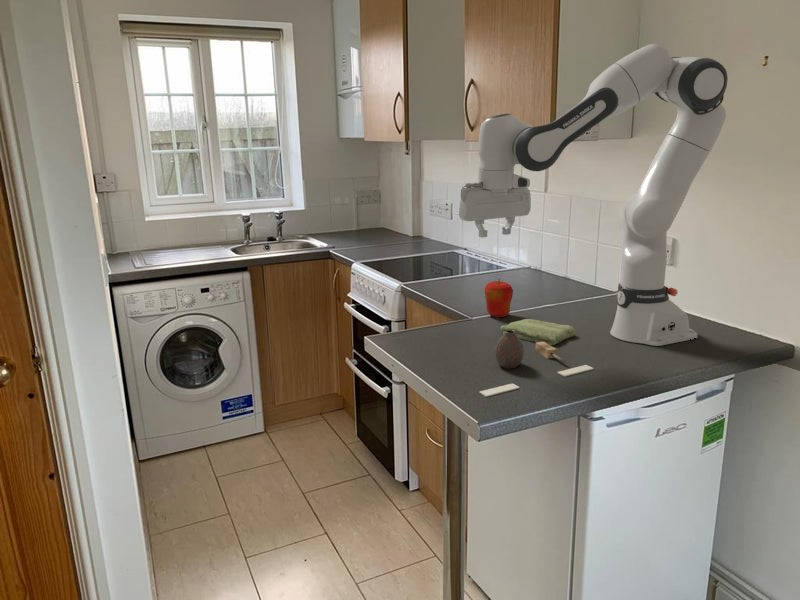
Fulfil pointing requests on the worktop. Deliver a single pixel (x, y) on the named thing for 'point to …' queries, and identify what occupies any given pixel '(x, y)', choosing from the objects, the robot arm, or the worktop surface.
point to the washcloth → (540, 331)
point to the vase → (509, 350)
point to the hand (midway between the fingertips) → (494, 235)
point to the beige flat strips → (513, 387)
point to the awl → (547, 351)
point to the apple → (498, 298)
